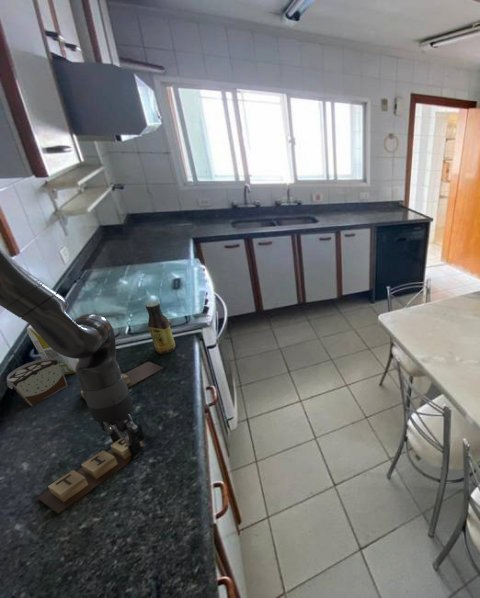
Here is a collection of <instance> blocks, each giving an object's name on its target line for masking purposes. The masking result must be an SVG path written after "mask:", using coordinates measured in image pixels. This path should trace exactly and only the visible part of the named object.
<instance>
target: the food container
mask: <svg viewBox="0 0 480 598" xmlns="http://www.w3.org/2000/svg"><path fill="white" fill-rule="evenodd" d="M60 363H62V362H61V360H60V359H58V358H45V359H42V358H40V359H36V360H33V361H31V362H28V363H25V364H23V365H21V366H19V367H17V368H15V369H13V370H12V371H11V372H10V373H9V374H7V376H6V384H7V385H6V386H7V387H8V388H9V389H11V390H13V389H14V391H16V393H17V394H18V395H19V396H20V397H21V399H23V401H24V402H25V403H26V404H27V405H28V406H30V407H33V406H34V405H36V404H38V403H40V402H41V401H43V400H45V399H47V398H49V397H51V396H52V395H54V394H56V393H58V392H59V391H62V390H63V389H65V388H67V387H68V386H69V385H68V382H67V379H66V377H65V375H64V374H63V371H62V368H61V365H60Z"/></svg>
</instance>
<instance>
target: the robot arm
mask: <svg viewBox="0 0 480 598" xmlns="http://www.w3.org/2000/svg"><path fill="white" fill-rule="evenodd" d="M0 306H1V307H2V308H3V309H5V310H7V311H8V312H10V313H11V314H13V315H15V316H16V317H18V318H19V319H20V320H22V321H24V322H26V323H28V325H29V326H30V325H31V327H32V328H33V329H34V330H35V331H36V333H37V334H38V335H39V336H40V337H41V338H42V339H43V340H44V341H45V342H46V343H47V344H48V345H49V346H50V347H51V348H52V349H53V350H55V351H56V352H57V353H59V354H61V355H63V356H66V357H69V358H75V359H79V361H78V363H77V365H76V368H75V370H76V373H75V374H76V377H77V380H78V382H79V384H80V386H81V391H83V395H84V398H85V399H84V401H85V403H86V405H87V408H88V410H89V411H90V415H91V417H92V419H93V420H94V421H95V422H97V423H98V425H99V426H100V428H101V430H102V431H103V432H105V431H106V434H107V435H108V436H109V437H110V438H111V441H112V444H113V443H115V442H116V441H118V440H119V439H124V441H125V442H126V444H127V447H128V449H129V452H130V454H131V456H136V455H137V454H138V453H139V452H141V451H142V447H141V446H140V443H139V442H140V441H142V442H143V441H144V440H145V436H144V432H143V428H142V423H140V422H138V421H137V422H136V423H134V421H133V417H132V415H131V414H130V412H131V411H132V409H133V407H134V402H133V398H132V395H131V393H130V388H129V389H128V387H127V384H126V381H125V379H124V378H123V376H122V374H123V373H122V371H121V368H120V365H119V362H118V361H117V344H116V334H115V329H114V328H113V325H112V324H111V322H110V321H109V320H108V319H107V318H106V317H104V316H102V315H100V314H97V313H85V314H81V315H79V316H77V317H76V318H74V319H73V318H71V317H70V316H69V314H68V313H67V309H68V307H69V301H68V300H67V299H66V298H65V297H64V296H62V295H61V294H60V293H58V292H57V291H55V290H54V289H53V288H51V287H50V286H48V285H47V284H46V283H44V282H43V281H42V280H40V279H39V278H37V277H36V276H35V275H33V274H32V273H30V272H29V271H28V270H27V269H25V268H24V267H23V266H21V265H20V264H19V263H18V262H17V261H15V260H14V259H13V258H12V257H11V256H10V255H9V254H8V253H7V252H5V250H3V249H2V248H1V247H0ZM128 437H129V439H128Z"/></svg>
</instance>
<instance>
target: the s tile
mask: <svg viewBox="0 0 480 598" xmlns="http://www.w3.org/2000/svg"><path fill="white" fill-rule="evenodd" d="M128 439H129V437H128ZM139 443H140V446H141V448H142V447H144V444H143V440H142V441H140V442H139ZM109 447H110V449H112V451H113V453H115V454H117V455H118V456H120V457H122V458H124V459H126V458H127V457H128V456H130V455H131V454H130V452H129V449H128V447H127V444H126V442H125V441H124V439H119V440H118V441H116V442H115V443H113V442H112V444H110V446H109ZM131 456H132V455H131Z"/></svg>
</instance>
